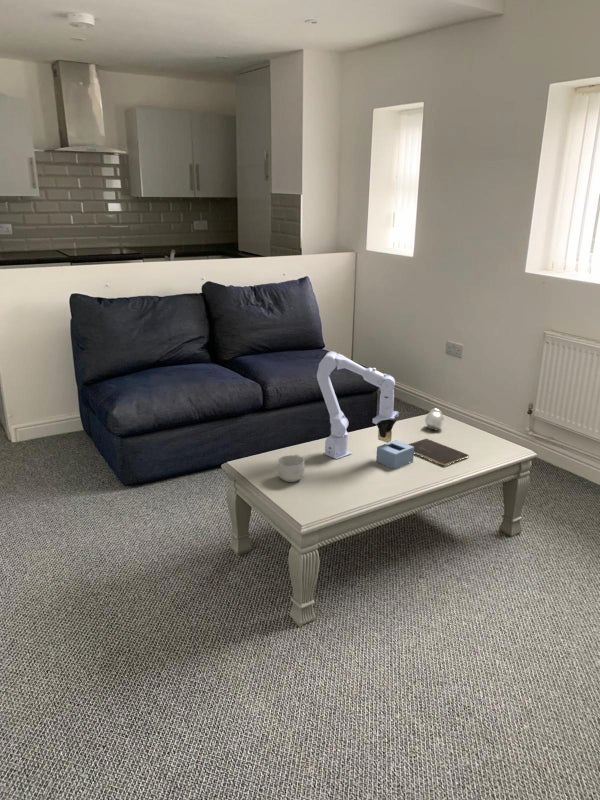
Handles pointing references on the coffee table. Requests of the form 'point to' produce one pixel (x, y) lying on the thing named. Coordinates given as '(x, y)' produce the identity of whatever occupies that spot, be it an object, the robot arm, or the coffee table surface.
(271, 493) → the coffee table surface
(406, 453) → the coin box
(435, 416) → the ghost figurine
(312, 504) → the coffee table surface
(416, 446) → the hardcover book
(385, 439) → the tan wooden block
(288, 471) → the teacup
